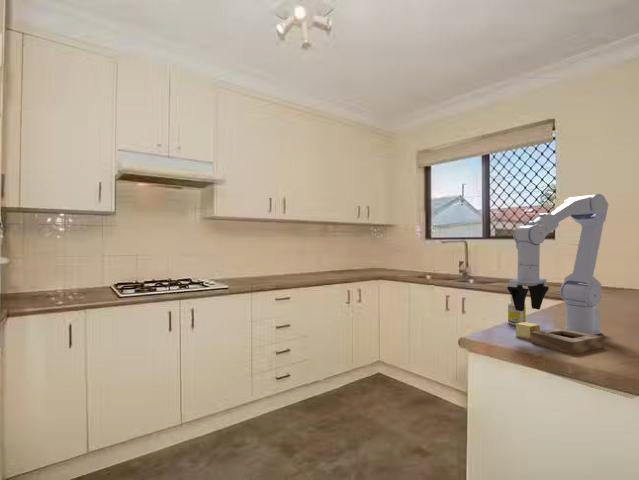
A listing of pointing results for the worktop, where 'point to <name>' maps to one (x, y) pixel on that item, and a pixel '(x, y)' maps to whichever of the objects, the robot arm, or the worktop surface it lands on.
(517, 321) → the supplement bottle
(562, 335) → the brown wooden frame
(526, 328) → the wooden block
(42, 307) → the worktop surface
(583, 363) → the worktop surface
